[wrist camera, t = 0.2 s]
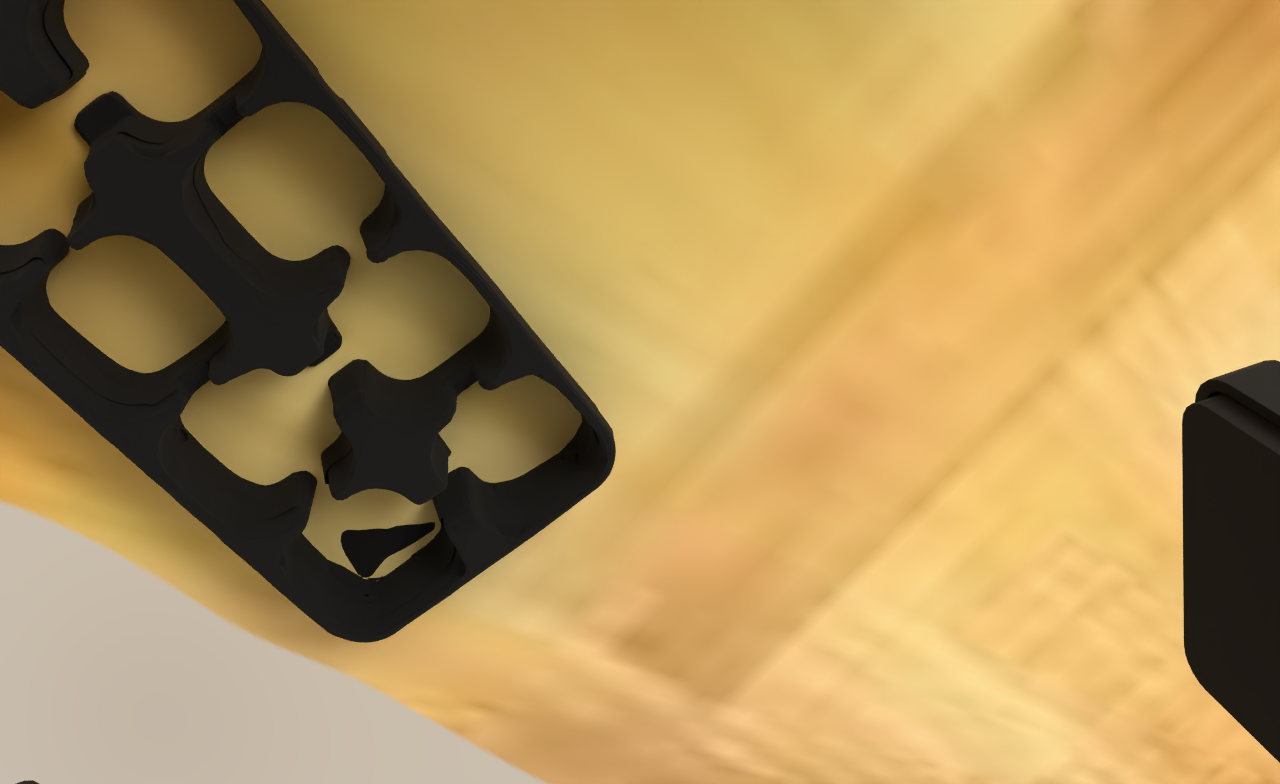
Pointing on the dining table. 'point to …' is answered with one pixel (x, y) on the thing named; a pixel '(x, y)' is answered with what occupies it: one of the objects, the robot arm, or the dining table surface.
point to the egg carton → (280, 345)
